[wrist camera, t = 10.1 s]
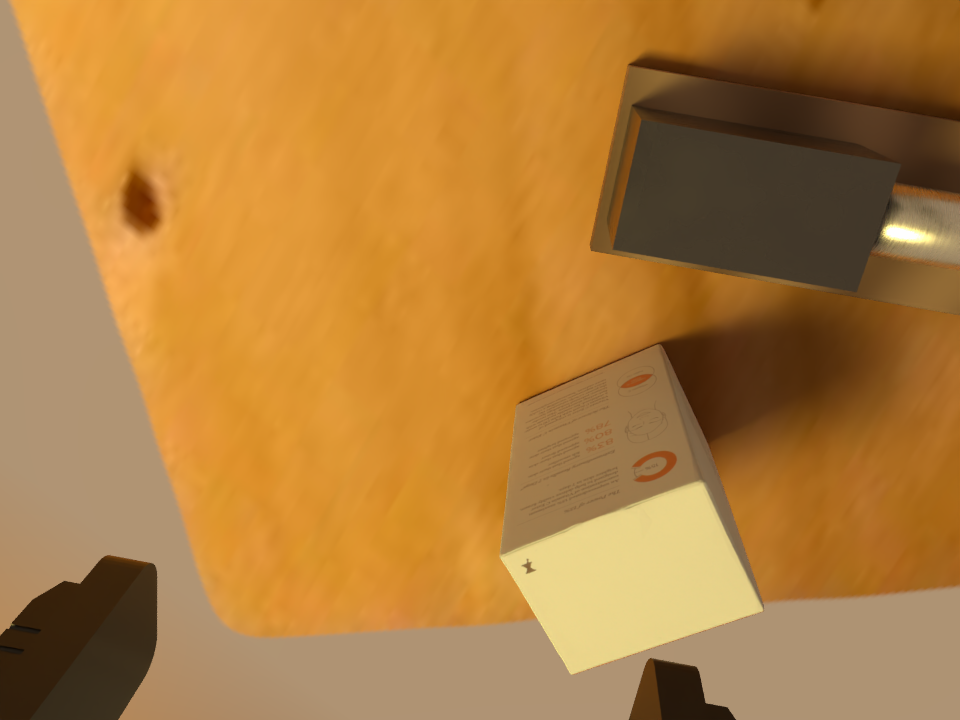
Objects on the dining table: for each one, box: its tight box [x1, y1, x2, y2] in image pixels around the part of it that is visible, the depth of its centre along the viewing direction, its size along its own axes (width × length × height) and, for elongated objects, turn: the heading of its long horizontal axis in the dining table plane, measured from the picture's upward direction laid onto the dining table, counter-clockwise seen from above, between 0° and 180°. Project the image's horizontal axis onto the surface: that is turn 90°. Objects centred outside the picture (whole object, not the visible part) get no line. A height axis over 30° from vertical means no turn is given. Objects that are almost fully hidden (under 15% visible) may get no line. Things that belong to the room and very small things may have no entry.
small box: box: [500, 344, 764, 675], centre depth 37 cm, size 8×6×13 cm
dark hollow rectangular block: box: [607, 105, 901, 292], centre depth 34 cm, size 10×5×5 cm, turn 81°
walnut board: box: [590, 65, 960, 315], centre depth 37 cm, size 24×8×1 cm, turn 81°
